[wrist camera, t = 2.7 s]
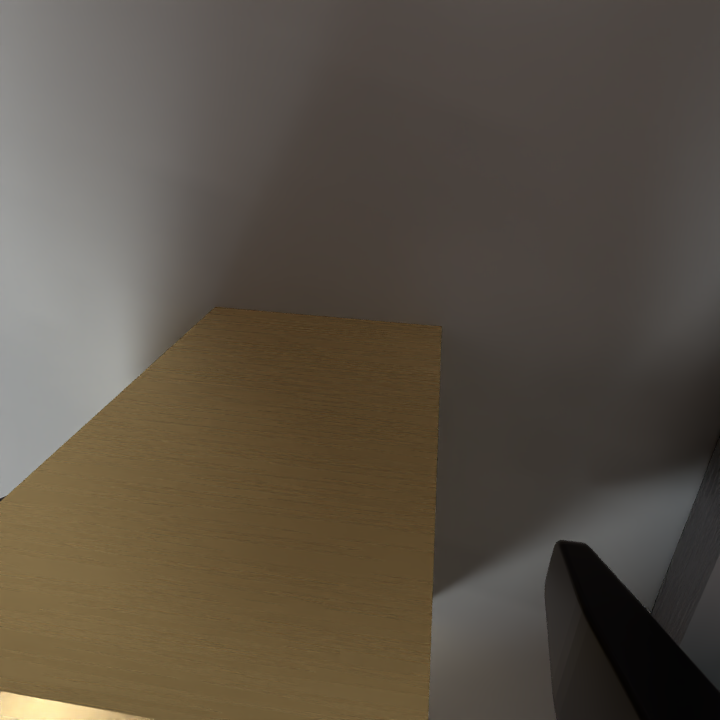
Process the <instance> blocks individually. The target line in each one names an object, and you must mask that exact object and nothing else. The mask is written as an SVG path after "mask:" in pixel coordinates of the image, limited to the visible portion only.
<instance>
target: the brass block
mask: <svg viewBox="0 0 720 720" xmlns="http://www.w3.org/2000/svg"><path fill="white" fill-rule="evenodd" d="M441 332H442V327H441V326H430V325H418V324H407V323H395V322H384V321H372V320H361V319H349V318H338V317H326V316H315V315H303V314H292V313H280V312H269V311H257V310H245V309H234V308H222V307H215V308H214V309H212V310H211V311H210V312H209V313H208V314H207V315H206V316H205V317H204V318H203V319H201V320H200V321H199V322H198V323H197V324H196V325H195V326H194V327H193V328H191V329H190V330H189V331H188V332H187V333H186V334H185V335H184V336H183V337H182V338H180V339H179V340H178V341H177V342H176V343H175V344H174V345H173V346H172V347H171V348H169V349H168V350H167V351H166V352H165V353H164V354H163V355H162V356H161V357H159V358H158V359H157V360H156V361H155V362H154V363H153V364H152V365H151V366H150V367H148V368H147V369H146V370H145V371H144V372H143V373H142V374H141V375H140V376H138V377H137V378H136V379H135V380H134V381H133V382H132V383H131V384H130V385H129V386H127V387H126V388H125V389H124V390H123V391H122V392H121V393H120V394H119V395H118V396H116V397H115V398H114V399H113V400H112V401H111V402H110V403H109V404H108V405H106V406H105V407H104V408H103V409H102V410H101V411H100V412H99V413H98V414H97V415H95V416H94V417H93V418H92V419H91V420H90V421H89V422H88V423H87V424H85V425H84V426H83V427H82V428H81V429H80V430H79V431H78V432H77V433H76V434H74V435H73V436H72V437H71V438H70V439H69V440H68V441H67V442H66V443H65V444H63V445H62V446H61V447H60V448H59V449H58V450H57V451H56V452H55V453H53V454H52V455H51V456H50V457H49V458H48V459H47V460H46V461H45V462H44V463H42V464H41V465H40V466H39V467H38V468H37V469H36V470H35V471H34V472H32V473H31V474H30V475H29V476H28V477H27V478H26V479H25V480H24V481H23V482H21V483H20V484H19V485H18V486H17V487H16V488H15V489H14V490H13V491H12V492H10V493H9V494H8V495H7V496H6V497H5V498H4V499H3V500H2V501H0V720H428V711H429V682H430V653H431V623H432V594H433V565H434V536H435V507H436V478H437V449H438V419H439V390H440V361H441Z"/></svg>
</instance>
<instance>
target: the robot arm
mask: <svg viewBox="0 0 720 720" xmlns="http://www.w3.org/2000/svg"><path fill="white" fill-rule="evenodd" d="M5 497H6V496H5ZM5 497H3V498H0V501H2V500H3V499H4V498H5ZM545 606H546V618H547V630H548V642H549V654H550V666H551V679H552V689H553V699H554V707H555V713H556V719H557V720H720V691H719V690H718V689H717V688H716V687H715V685H714V684H713V683H712V682H711V681H710V680H709V679H708V678H707V676H706V675H705V674H704V673H703V672H702V671H701V670H700V669H699V668H698V666H697V665H696V664H695V663H694V662H693V661H692V660H691V659H690V658H689V656H688V655H687V654H686V653H685V652H684V651H683V650H682V649H681V648H680V646H679V645H678V644H677V643H676V642H675V641H674V640H673V639H672V638H671V636H670V635H669V634H668V633H667V632H666V631H665V630H664V629H663V628H662V626H661V625H660V624H659V623H658V622H657V621H656V620H655V619H654V618H653V616H652V615H651V614H650V613H649V612H648V611H647V610H646V609H645V608H644V606H643V605H642V604H641V603H640V602H639V601H638V600H637V599H636V598H635V596H634V595H633V594H632V593H631V592H630V591H629V590H628V589H627V588H626V586H625V585H624V584H623V583H622V582H621V581H620V580H619V579H618V578H617V576H616V575H615V574H614V573H613V572H612V571H611V570H610V569H609V568H608V566H607V565H606V564H605V563H604V562H603V561H602V560H601V559H600V558H599V556H598V555H597V554H596V553H595V552H594V551H593V550H592V549H591V548H590V547H589V546H588V545H587V544H585V543H581V542H573V541H566V540H560V541H558V542H556V544H555V546H554V549H553V553H552V557H551V561H550V565H549V568H548V572H547V576H546V581H545Z"/></svg>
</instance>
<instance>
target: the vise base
mask: <svg viewBox="0 0 720 720" xmlns="http://www.w3.org/2000/svg"><path fill="white" fill-rule="evenodd" d="M651 615H652V616H653V618H654V619H655V620H656V621H657V622H658V623H659V624H660V625H661V626H662V628H663V629H664V630H665V631H666V632H667V633H668V634H669V635H670V636H671V638H672V639H673V640H674V641H675V642H676V643H677V644H678V645H679V646H680V648H681V649H682V650H683V651H684V652H685V653H686V654H687V655H688V656H689V658H690V659H691V660H692V661H693V662H694V663H695V664H696V665H697V666H698V668H699V669H700V670H701V671H702V672H703V673H704V674H705V675H706V676H707V678H708V679H709V680H710V681H711V682H712V683H713V684H714V685H715V687H716V688H717V689H718V690H719V691H720V437H719V440H718V443H717V445H716V448H715V450H714V453H713V455H712V458H711V461H710V463H709V466H708V468H707V471H706V473H705V476H704V479H703V481H702V484H701V486H700V489H699V492H698V494H697V497H696V499H695V502H694V504H693V507H692V510H691V512H690V515H689V517H688V520H687V522H686V525H685V528H684V530H683V533H682V535H681V538H680V540H679V543H678V546H677V548H676V551H675V553H674V556H673V558H672V561H671V564H670V566H669V569H668V571H667V574H666V577H665V579H664V582H663V584H662V587H661V589H660V592H659V595H658V597H657V600H656V602H655V605H654V607H653V610H652V613H651Z"/></svg>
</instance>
